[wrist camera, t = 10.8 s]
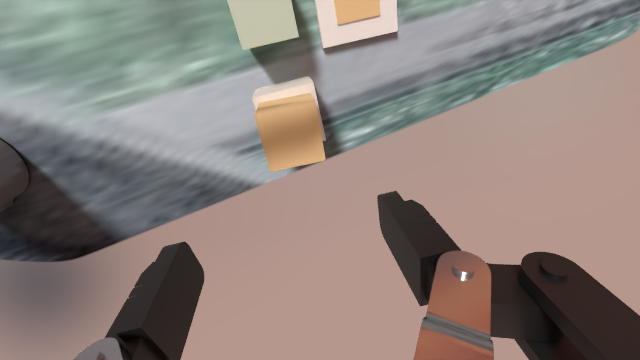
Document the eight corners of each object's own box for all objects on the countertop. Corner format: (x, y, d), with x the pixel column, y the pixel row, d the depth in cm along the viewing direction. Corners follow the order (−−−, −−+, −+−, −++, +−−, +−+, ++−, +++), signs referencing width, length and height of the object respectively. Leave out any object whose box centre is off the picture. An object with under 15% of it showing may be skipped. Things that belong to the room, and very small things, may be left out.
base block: (319, 126, 32) (326, 140, 28) (272, 138, 32) (271, 154, 28) (308, 75, 29) (313, 82, 25) (256, 88, 29) (251, 98, 25)
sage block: (295, 36, 27) (299, 37, 23) (248, 47, 27) (242, 50, 23) (282, -23, 25) (283, -35, 20) (231, -11, 24) (220, -21, 20)
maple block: (318, 140, 28) (325, 160, 23) (271, 150, 27) (270, 171, 23) (310, 92, 25) (316, 104, 21) (259, 102, 25) (254, 116, 21)
